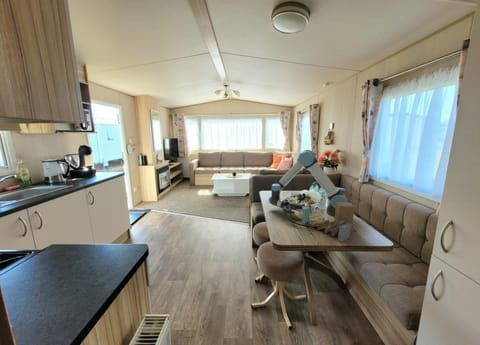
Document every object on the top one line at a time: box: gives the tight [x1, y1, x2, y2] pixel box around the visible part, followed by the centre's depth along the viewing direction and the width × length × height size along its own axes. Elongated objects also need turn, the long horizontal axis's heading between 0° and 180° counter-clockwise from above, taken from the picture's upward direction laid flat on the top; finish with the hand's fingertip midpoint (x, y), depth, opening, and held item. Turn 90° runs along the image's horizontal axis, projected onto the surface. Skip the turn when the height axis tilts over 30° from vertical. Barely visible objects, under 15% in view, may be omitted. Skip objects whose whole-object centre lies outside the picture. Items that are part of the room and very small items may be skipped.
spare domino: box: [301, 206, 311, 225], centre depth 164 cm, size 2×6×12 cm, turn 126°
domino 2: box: [310, 219, 330, 228], centre depth 154 cm, size 2×6×12 cm
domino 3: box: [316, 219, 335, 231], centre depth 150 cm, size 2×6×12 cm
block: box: [333, 201, 355, 234], centre depth 152 cm, size 10×10×20 cm
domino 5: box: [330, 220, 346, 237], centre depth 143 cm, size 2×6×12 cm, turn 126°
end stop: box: [337, 223, 351, 242], centre depth 140 cm, size 9×3×10 cm, turn 126°
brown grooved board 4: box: [323, 220, 340, 234], centre depth 146 cm, size 2×6×12 cm
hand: (304, 212), depth 164 cm, fingers open, 13 cm apart
